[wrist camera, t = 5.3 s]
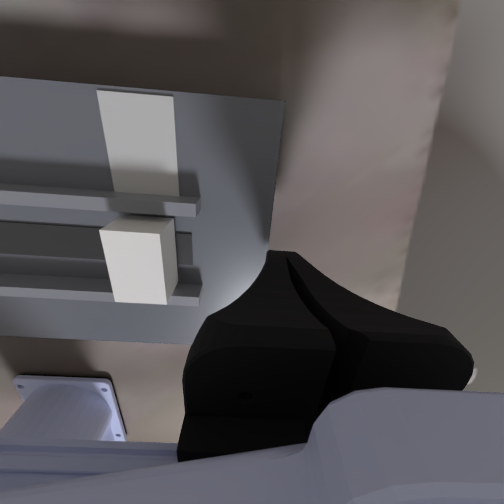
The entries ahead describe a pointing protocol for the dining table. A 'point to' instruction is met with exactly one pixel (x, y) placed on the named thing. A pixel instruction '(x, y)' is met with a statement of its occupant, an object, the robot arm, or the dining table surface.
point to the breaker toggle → (141, 258)
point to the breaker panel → (129, 203)
